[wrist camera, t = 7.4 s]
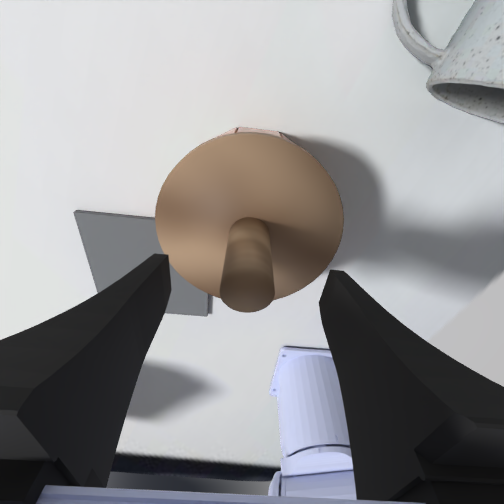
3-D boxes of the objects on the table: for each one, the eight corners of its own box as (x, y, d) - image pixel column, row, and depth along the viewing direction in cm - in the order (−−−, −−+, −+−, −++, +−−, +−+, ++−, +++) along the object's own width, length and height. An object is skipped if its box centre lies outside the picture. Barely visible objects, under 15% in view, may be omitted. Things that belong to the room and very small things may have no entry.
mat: (207, 313, 25) (207, 316, 25) (104, 305, 25) (102, 308, 24) (209, 223, 20) (208, 225, 19) (76, 210, 19) (73, 212, 19)
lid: (307, 302, 20) (325, 377, 15) (160, 280, 18) (126, 353, 13) (370, 154, 14) (437, 196, 9) (159, 110, 13) (96, 128, 8)
